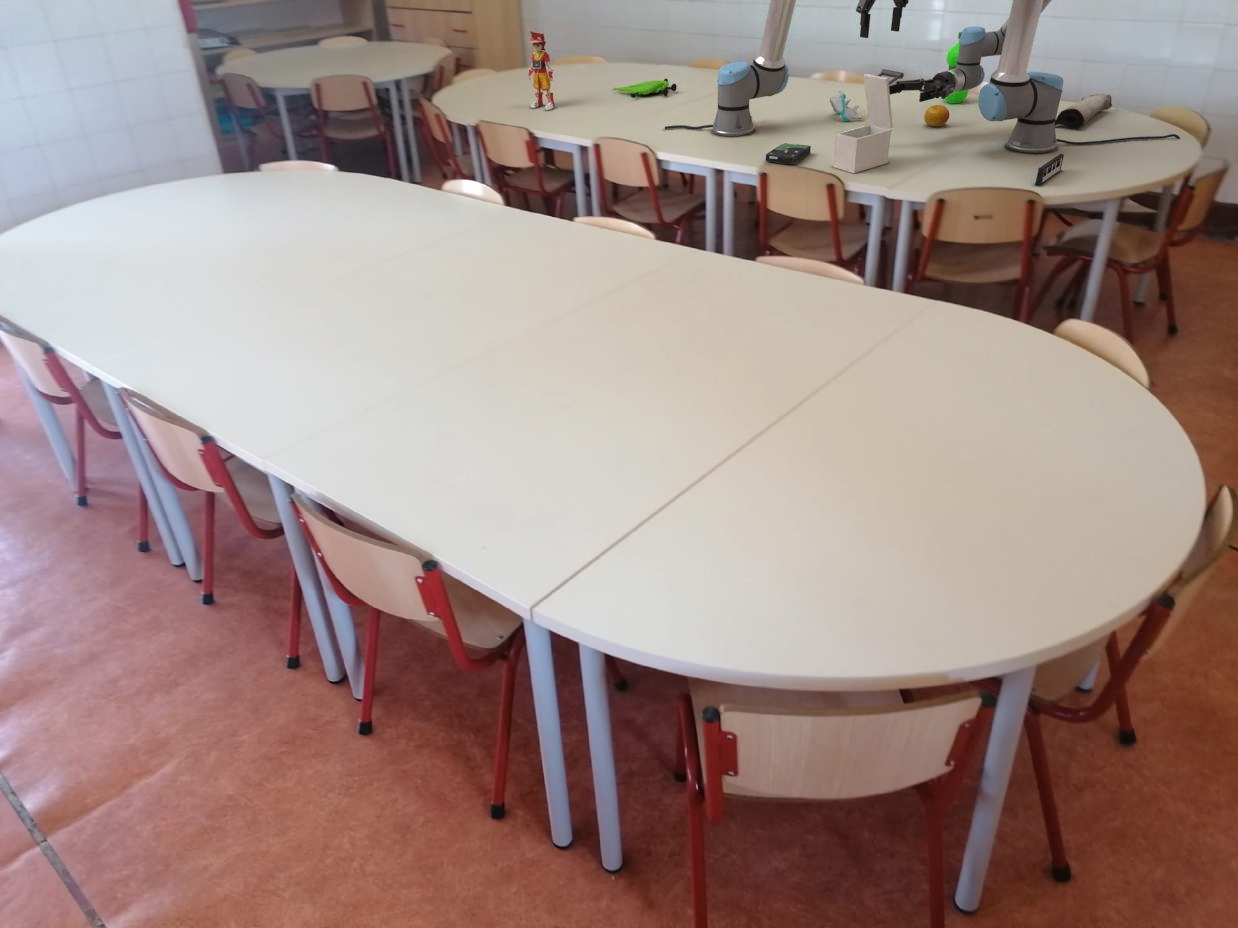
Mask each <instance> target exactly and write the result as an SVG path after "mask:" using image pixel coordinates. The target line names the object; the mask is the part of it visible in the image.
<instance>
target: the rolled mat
mask: <svg viewBox="0 0 1238 928" xmlns="http://www.w3.org/2000/svg"><path fill="white" fill-rule="evenodd" d="M1112 107H1113V103H1112V95H1110V94H1105V93H1096V94H1091V95H1085V96H1083V97H1082V98H1081V99H1080V100H1079V101H1078V102H1075V103H1074V104H1072V105H1070V106H1068V107H1067V108H1065V109H1063V110H1061V111H1060V112H1059V114H1057V116H1056V120H1055V127H1056V126H1058V125H1059V126H1060V125H1061V126H1064V127H1065V128H1066V129H1073V130H1079V129H1081V128H1082V127H1083V126H1084V125H1086V123H1088V121H1089V120H1090V119H1091V118H1092V117H1094V116H1095V115H1096V114H1097V113H1098V112H1100V111H1106V110H1109V109H1110V108H1112Z"/></svg>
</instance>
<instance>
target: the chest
mask: <svg viewBox="0 0 1238 928" xmlns="http://www.w3.org/2000/svg"><path fill="white" fill-rule="evenodd" d="M834 135H835V136H834V148H833V149H834V150H833V158H832V159H833V160H832V167H833V168H835V169H839V170H842V171H846V172H849V173H852V174H856V173H860V172H863V171H865V170H869V169H873V168H876V167H879V166H882V165H885V164H888V162H889V152H890V144H891V137H892V136H891V135H892V129H890V128H886V127H882V126H877V125H873V124H867V125H864V126H858V127H856V128H855V127H854V128H851V129H848V130H845V131H840V132H837V133H835V134H834Z"/></svg>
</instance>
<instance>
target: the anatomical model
mask: <svg viewBox="0 0 1238 928" xmlns="http://www.w3.org/2000/svg"><path fill="white" fill-rule="evenodd" d="M846 98H847V95H846V93H844V92H843V91H842V90H839V91H838V93H837V95H834V96H831V97H829V103H830V106H831V107H832V110H833V112H834V113H837V114H839V115H840V117H841V119H842V121H844V122H850V121H852V120H862V119H863V118H864V117H863V115H858V114H857V110H858V108H860V105H854V106H852V107H850V106H848V105H849V103H850V101H851V100H852V99H851V98H850V99H846Z"/></svg>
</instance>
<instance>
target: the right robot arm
mask: <svg viewBox="0 0 1238 928" xmlns="http://www.w3.org/2000/svg"><path fill="white" fill-rule="evenodd" d="M1051 2H1052V0H1012V3H1011V8H1010V12H1009V16H1008V18H1006V21H1004V23H1003V24H1002V25H1001V27H1000V28H999V29H998V30H994V31H986V28H985V27H983V26H967V27H964V28H963V29H962V30H961V32H962V34H961V38H960V42H959V41H958V43H959V52H958V60H957V65H956V69H952V70H949V69H947V70H945V71H940V72H938V73H935V75H934V76H933V77H932V78H929V79H924V78H923V77H921V78H918V79H909V80H907V79H906V80H896V81H895V83H894V84H890V85H889V92H890V96H892V95H895V94H901V93H902V92H906V91H907V92H908V91H919V92H920V93H919V99H918V102H919V103H922V102H926V101H929V100H930V101H931V100H934V99H942V100H945V98H946V97H947V96H948V95H952V93H956V92H960V91H964V90H968V91H970V90H972V89H974V88H976V87H979V86H980V85H981V84H982V83H983V81H984V79H985V75H986V74H985V71H984V70H985V69H984V67H983V66H982V65H981V62H982V58H986V57H992V56H993V57H995V56H1000V57H999V61H998V65H997V69H996V70H995V71H993V72H992V73H991V74H990V79H989V82H988V83H986V84H984V85H983V86H982V87H981V88H980V90H979V92H978V96H977V97H978V98H977V104H978V109H979V111H980V114H981V116H982V117H983V118H984V119H985V120H987V121H988V122H1004V121H1009V120H1015V119H1017V120H1016V123H1015V126H1014V127H1013V128H1012V131H1011V132H1010V135H1009V136H1008V138H1007V141H1006V148H1007V149H1009V150H1011V151H1015V152H1018V153H1024V154H1045V153H1049V152H1053V151H1054V150H1056V148H1057V142H1058V143H1064V144H1066V145H1067V144H1068V145H1093V144H1105V143H1112V142H1122V141H1133V140H1134V141H1135V140H1161V139H1168V138H1172V137H1174V138H1176V139H1177V140H1181V137H1180V136H1179V135H1178V134H1175V133H1171V134H1167V135H1155V136H1153V135H1152V136H1148V135H1147V136H1132V137H1119V138H1111V139H1103V140H1093V141H1091V140H1090V141H1070V140H1065V139H1060V138H1057V134H1056V126H1055V120H1056V119H1057V117H1058V110H1059V106H1060V103H1061V102H1060V101H1061V99H1062V98H1061V97H1062V93H1063V90H1064V89H1063V87H1064V78H1063V77H1062V76H1060V75H1057V74H1055V73H1048V72H1041V71H1029V72H1027V70H1028V66H1029V63H1030V58H1031V53H1032V50H1033V45H1034V41H1035V39H1036V38H1035V37H1036V34H1037V29H1038V25H1039V22H1040V17H1041V14H1042V13H1043V12H1044V10H1045V9H1046V8H1047V7H1048V5H1050V3H1051Z"/></svg>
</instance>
